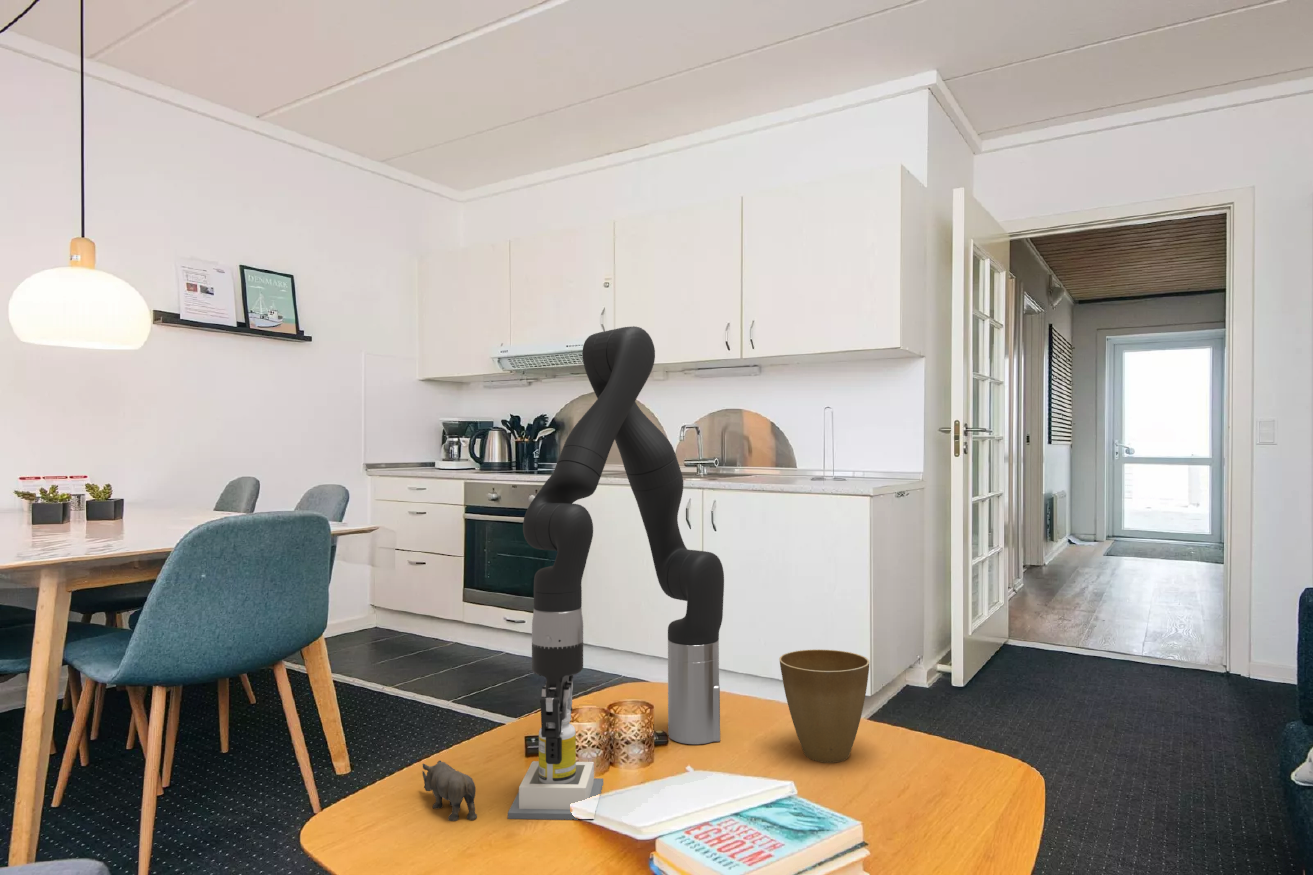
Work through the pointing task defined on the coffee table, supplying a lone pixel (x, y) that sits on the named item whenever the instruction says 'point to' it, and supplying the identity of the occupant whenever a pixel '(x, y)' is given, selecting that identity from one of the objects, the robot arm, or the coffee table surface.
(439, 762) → the rhino figurine
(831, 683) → the plant pot
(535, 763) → the box
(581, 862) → the coffee table surface
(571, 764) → the supplement bottle
